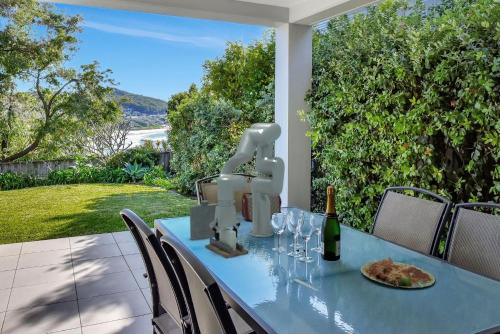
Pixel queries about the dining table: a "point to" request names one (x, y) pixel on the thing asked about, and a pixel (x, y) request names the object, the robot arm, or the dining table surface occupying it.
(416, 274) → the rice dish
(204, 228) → the hip flask
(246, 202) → the handbag
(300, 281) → the butter knife
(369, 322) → the dining table surface
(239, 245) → the track
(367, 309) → the dining table surface
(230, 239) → the door panel
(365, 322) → the dining table surface
